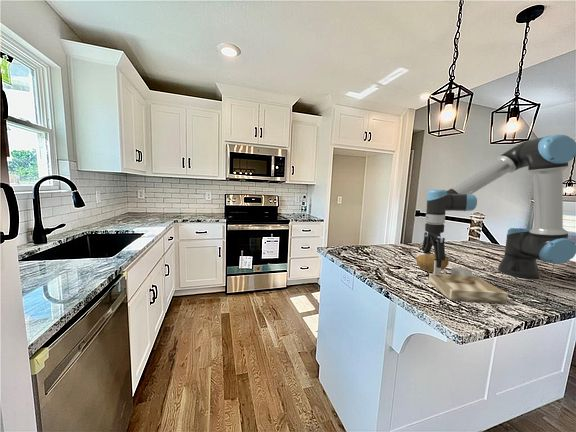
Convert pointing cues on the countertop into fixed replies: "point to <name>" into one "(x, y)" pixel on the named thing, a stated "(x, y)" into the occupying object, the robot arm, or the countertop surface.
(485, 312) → the countertop surface
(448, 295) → the tray
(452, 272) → the white rounded piece
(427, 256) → the potato
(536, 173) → the robot arm
